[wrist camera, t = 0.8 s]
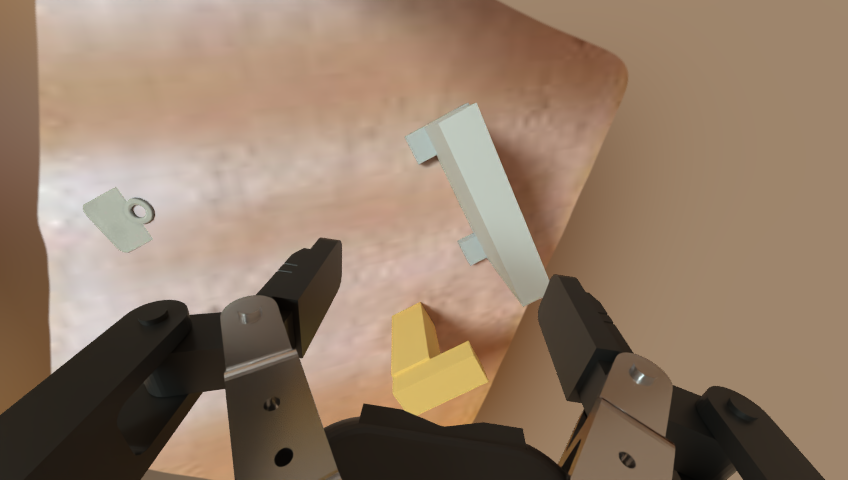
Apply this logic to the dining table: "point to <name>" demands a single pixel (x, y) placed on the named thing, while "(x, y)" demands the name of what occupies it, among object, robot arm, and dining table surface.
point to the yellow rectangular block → (429, 364)
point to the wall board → (483, 199)
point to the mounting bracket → (120, 219)
